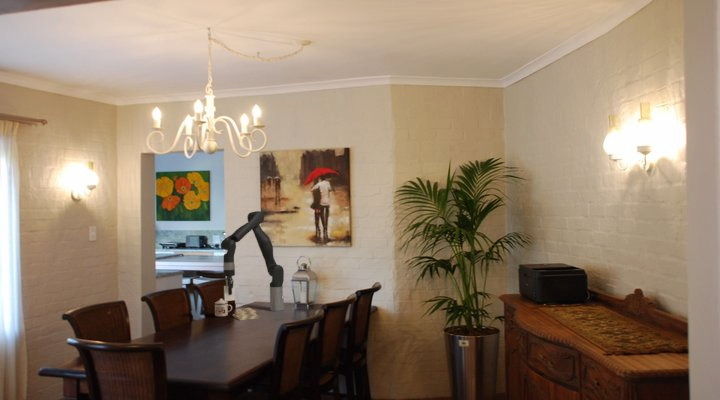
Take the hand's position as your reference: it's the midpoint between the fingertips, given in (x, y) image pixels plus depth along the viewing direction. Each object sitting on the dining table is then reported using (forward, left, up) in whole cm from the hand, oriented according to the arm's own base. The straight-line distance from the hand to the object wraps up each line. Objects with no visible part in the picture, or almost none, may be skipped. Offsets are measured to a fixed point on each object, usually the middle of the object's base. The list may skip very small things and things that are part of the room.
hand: (229, 294), depth 383 cm
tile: (0, 0, -4) cm, 4 cm away
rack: (-11, +2, -16) cm, 20 cm away
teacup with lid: (+1, -14, -17) cm, 22 cm away
